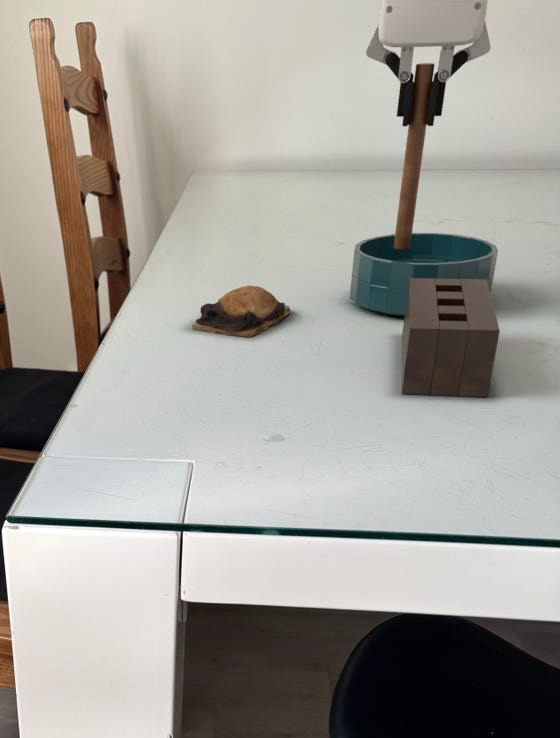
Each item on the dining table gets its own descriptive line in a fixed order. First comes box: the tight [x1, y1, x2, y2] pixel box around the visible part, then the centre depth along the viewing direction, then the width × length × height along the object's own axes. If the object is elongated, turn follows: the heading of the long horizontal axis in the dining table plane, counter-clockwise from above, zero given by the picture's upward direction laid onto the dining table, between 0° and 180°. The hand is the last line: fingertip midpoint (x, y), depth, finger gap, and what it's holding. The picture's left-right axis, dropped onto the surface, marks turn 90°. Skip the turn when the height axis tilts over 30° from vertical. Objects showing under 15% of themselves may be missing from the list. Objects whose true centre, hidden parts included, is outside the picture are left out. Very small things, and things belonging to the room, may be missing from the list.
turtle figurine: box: [191, 285, 291, 338], centre depth 111 cm, size 11×8×4 cm
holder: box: [400, 278, 501, 398], centre depth 95 cm, size 7×17×6 cm, turn 165°
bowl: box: [349, 232, 499, 318], centre depth 113 cm, size 15×15×6 cm
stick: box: [394, 62, 436, 250], centre depth 107 cm, size 2×2×18 cm
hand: (417, 123), depth 105 cm, fingers closed on stick, 1 cm apart
